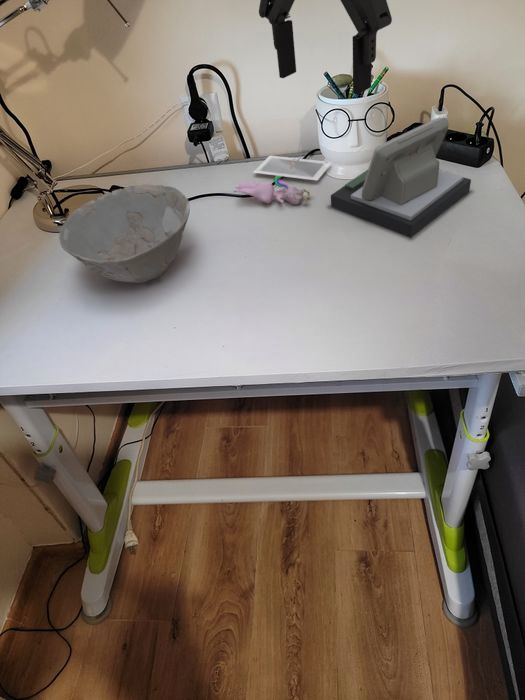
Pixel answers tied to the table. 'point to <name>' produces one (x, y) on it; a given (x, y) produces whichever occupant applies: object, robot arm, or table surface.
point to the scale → (403, 216)
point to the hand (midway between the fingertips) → (323, 82)
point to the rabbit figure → (272, 191)
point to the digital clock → (406, 164)
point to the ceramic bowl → (128, 232)
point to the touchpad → (292, 167)
